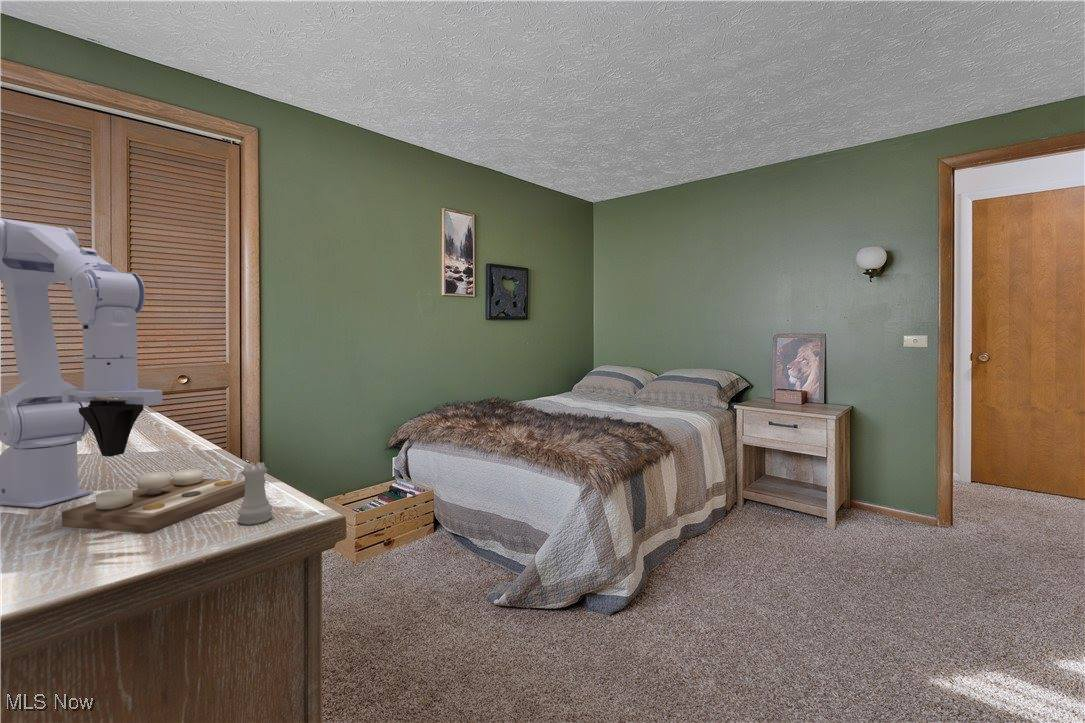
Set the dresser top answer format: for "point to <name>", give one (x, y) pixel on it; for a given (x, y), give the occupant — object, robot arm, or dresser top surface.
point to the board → (156, 507)
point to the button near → (114, 499)
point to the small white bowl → (188, 477)
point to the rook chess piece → (254, 496)
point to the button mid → (153, 481)
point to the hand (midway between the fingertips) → (113, 454)
